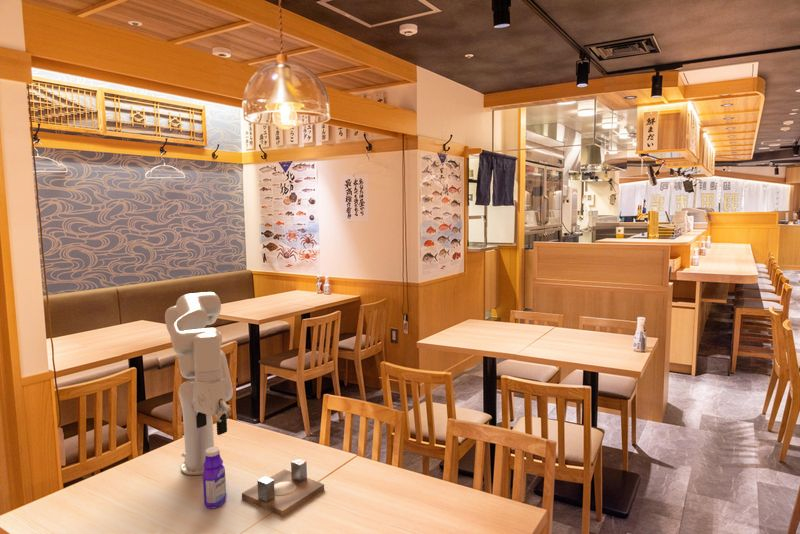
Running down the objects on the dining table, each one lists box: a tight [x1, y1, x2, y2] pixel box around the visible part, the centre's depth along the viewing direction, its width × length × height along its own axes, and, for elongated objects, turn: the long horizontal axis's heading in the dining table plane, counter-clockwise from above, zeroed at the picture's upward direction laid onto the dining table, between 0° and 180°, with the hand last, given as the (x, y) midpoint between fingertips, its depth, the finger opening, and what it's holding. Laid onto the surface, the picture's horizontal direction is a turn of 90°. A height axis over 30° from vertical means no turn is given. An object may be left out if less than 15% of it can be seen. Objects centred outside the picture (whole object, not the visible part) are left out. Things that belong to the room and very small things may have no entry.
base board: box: [241, 468, 325, 518], centre depth 170 cm, size 18×18×2 cm
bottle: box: [201, 446, 227, 509], centre depth 164 cm, size 7×6×17 cm
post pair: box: [256, 458, 308, 503], centre depth 169 cm, size 4×17×6 cm, turn 146°
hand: (211, 429), depth 162 cm, fingers open, 9 cm apart
